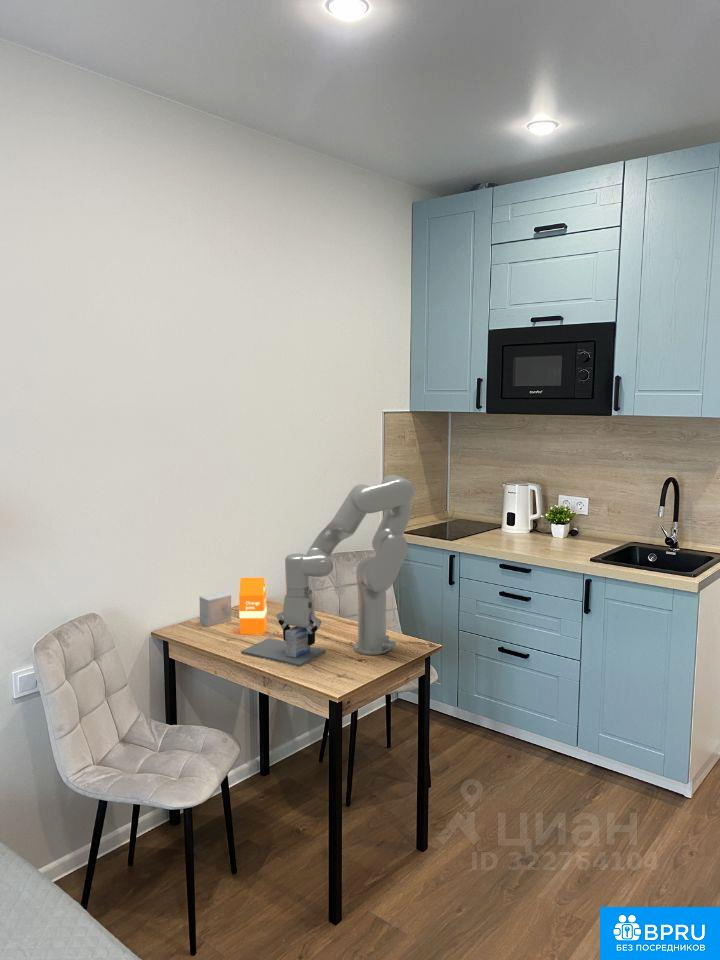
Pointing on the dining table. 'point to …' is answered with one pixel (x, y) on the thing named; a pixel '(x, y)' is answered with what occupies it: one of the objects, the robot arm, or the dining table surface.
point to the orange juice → (252, 606)
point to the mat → (280, 652)
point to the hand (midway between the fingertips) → (299, 642)
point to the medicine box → (296, 641)
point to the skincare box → (215, 608)
